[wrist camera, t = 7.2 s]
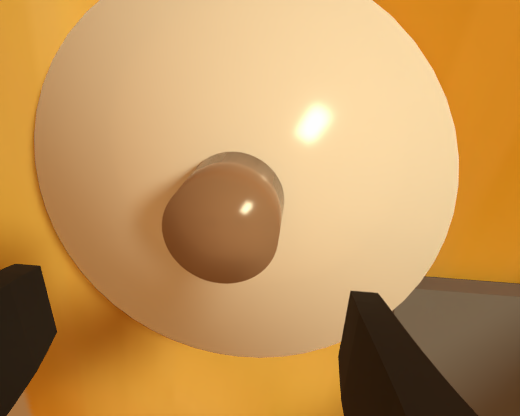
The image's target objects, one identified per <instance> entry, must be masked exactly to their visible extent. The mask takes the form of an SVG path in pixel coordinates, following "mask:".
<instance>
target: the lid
mask: <svg viewBox="0 0 520 416" xmlns="http://www.w3.org/2000/svg"><path fill="white" fill-rule="evenodd" d="M34 146H35V164H36V170H37V176H38V182H39V187H40V191H41V194H42V197H43V201H44V204H45V207H46V211H47V213H48V215H49V217H50V220H51V222H52V224H53V227H54V229H55V231H56V233H57V235H58V237H59V239H60V240H61V242H62V244H63V246H64V247H65V249H66V251H67V253H68V254H69V255H70V257H71V258H72V260H73V261H74V262H75V264H76V265H77V266H78V268H79V269H80V271H81V272H82V273H83V274H84V275H85V276H86V278H87V279H88V280H89V281H90V282H91V283H92V284H93V285H94V286H95V288H96V289H97V290H98V291H99V292H101V293H102V294H103V295H104V296H105V297H106V298H107V299H108V300H109V301H111V302H112V303H113V304H114V305H115V306H116V307H118V308H119V309H120V310H122V311H123V312H125V313H126V314H127V315H129V316H130V317H131V318H133V319H134V320H136V321H138V322H139V323H141V324H143V325H144V326H146V327H148V328H149V329H151V330H153V331H155V332H157V333H159V334H161V335H163V336H166V337H168V338H170V339H172V340H174V341H177V342H180V343H183V344H185V345H188V346H191V347H194V348H198V349H202V350H206V351H210V352H213V353H219V354H225V355H232V356H240V357H258V358H260V357H282V356H289V355H295V354H302V353H307V352H310V351H314V350H318V349H322V348H326V347H328V346H331V345H334V344H336V343H339V342H341V339H342V334H343V328H344V323H345V317H346V312H347V307H348V301H349V296H350V291H362V292H374V293H378V294H379V295H380V296H381V297H382V298H383V300H384V301H385V302H386V304H387V305H388V306H389V308H390V309H391V311H393V310H394V309H395V308H396V307H397V306H398V305H399V304H401V303H402V302H403V301H404V300H405V299H406V298H407V297H408V296H409V294H410V293H411V292H412V291H413V290H414V289H415V288H416V286H417V285H418V284H419V283H420V282H421V280H422V279H423V277H424V276H425V274H426V273H427V272H428V270H429V269H430V267H431V266H432V264H433V263H434V261H435V259H436V257H437V255H438V253H439V251H440V249H441V247H442V245H443V243H444V241H445V238H446V235H447V232H448V229H449V226H450V223H451V220H452V217H453V214H454V208H455V202H456V197H457V191H458V174H459V155H458V148H457V140H456V132H455V127H454V123H453V120H452V116H451V113H450V109H449V106H448V102H447V99H446V97H445V94H444V92H443V90H442V88H441V86H440V84H439V81H438V79H437V77H436V75H435V73H434V70H433V69H432V67H431V66H430V64H429V63H428V61H427V60H426V58H425V57H424V55H423V53H422V52H421V50H420V49H419V47H418V46H417V44H416V43H415V41H414V40H413V39H412V38H411V37H410V36H409V35H408V34H407V33H406V31H405V30H404V29H403V28H402V27H401V26H400V25H399V24H398V23H397V21H396V20H395V19H394V18H393V17H392V16H391V15H390V14H388V13H387V12H386V11H385V10H383V9H382V8H381V7H380V6H379V5H377V4H376V3H375V2H374V1H373V0H100V1H98V2H97V3H96V4H95V5H94V6H93V7H92V8H90V9H89V10H88V11H87V12H86V13H85V14H84V15H83V17H82V18H81V19H80V20H79V22H78V23H77V24H76V25H75V26H74V28H73V29H72V30H71V31H70V32H69V34H68V35H67V37H66V38H65V40H64V42H63V43H62V45H61V47H60V48H59V50H58V52H57V53H56V55H55V57H54V58H53V61H52V63H51V66H50V68H49V71H48V73H47V76H46V78H45V81H44V83H43V86H42V90H41V94H40V99H39V103H38V107H37V112H36V122H35V133H34Z"/></svg>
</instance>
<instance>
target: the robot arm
mask: <svg viewBox="0 0 520 416" xmlns="http://www.w3.org/2000/svg"><path fill="white" fill-rule="evenodd" d="M56 333H57V330H56V326H55V322H54V318H53V314H52V310H51V306H50V302H49V299H48V295H47V291H46V287H45V283H44V279H43V275H42V271H41V267H40V266H35V265H23V264H14V265H11V266H9V267H6V268H4V269H2V270H0V416H7V414H8V413H9V412H10V410H11V409H12V407H13V406H14V404H15V403H16V401H17V400H18V398H19V397H20V396H21V394H22V393H23V391H24V390H25V388H26V387H27V385H28V384H29V382H30V381H31V379H32V378H33V376H34V375H35V373H36V372H37V370H38V368H39V366H40V364H41V362H42V361H43V359H44V357H45V355H46V353H47V351H48V349H49V347H50V345H51V343H52V341H53V339H54V337H55V335H56ZM338 358H339V374H340V388H341V401H342V407H343V413H344V416H478V415H477V414H476V413H475V411H474V410H473V409H472V408H471V407H470V406H469V405H468V404H467V403H466V401H465V400H464V399H463V398H462V397H461V396H460V395H459V394H458V393H457V391H456V390H455V389H454V388H453V387H452V386H451V385H450V383H449V382H448V381H447V380H446V379H445V378H444V376H443V375H442V374H441V373H440V372H439V370H438V369H437V368H436V367H435V366H434V364H433V363H432V362H431V361H430V359H429V358H428V357H427V356H426V355H425V353H424V352H423V351H422V350H421V348H420V347H419V346H418V345H417V343H416V342H415V341H414V340H413V338H412V337H411V336H410V334H409V333H408V332H407V330H406V329H405V328H404V327H403V325H402V324H401V323H400V321H399V320H398V319H397V317H396V316H395V315H394V313H393V312H392V311H391V309H390V308H389V306H388V305H387V304H386V302H385V301H384V300H383V298H382V297H381V296H380V295H379V294H378V293H374V292H362V291H350V296H349V301H348V307H347V312H346V317H345V323H344V328H343V334H342V339H341V345H340V350H339V356H338Z"/></svg>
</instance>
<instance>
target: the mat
mask: <svg viewBox="0 0 520 416" xmlns="http://www.w3.org/2000/svg"><path fill="white" fill-rule="evenodd" d="M392 312H393V313H394V315H395V316H396V317H397V319H398V320H399V321H400V323H401V324H402V325H403V327H404V328H405V329H406V330H407V332H408V333H409V334H410V336H411V337H412V338H413V340H414V341H415V342H416V343H417V345H418V346H419V347H420V348H421V350H422V351H423V352H424V353H425V355H426V356H427V357H428V358H429V359H430V361H431V362H432V363H433V364H434V366H435V367H436V368H437V369H438V370H439V372H440V373H441V374H442V375H443V376H444V378H445V379H446V380H447V381H448V382H449V383H450V385H451V386H452V387H453V388H454V389H455V390H456V391H457V393H458V394H459V395H460V396H461V397H462V398H463V399H464V400H465V401H466V403H467V404H468V405H469V406H470V407H471V408H472V409H473V410H474V411H475V413H476V414H477V415H478V416H520V284H514V283H502V282H489V281H476V280H463V279H450V278H437V277H423V279H422V280H421V282H420V283H419V284H418V285H417V286H416V288H415V289H414V290H413V291H412V292H411V293H410V294H409V296H408V297H407V298H406V299H405V300H404V301H403V302H402V303H401V304H399V305H398V306H397V307H396V308H395V309H394V310H393V311H392Z"/></svg>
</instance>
